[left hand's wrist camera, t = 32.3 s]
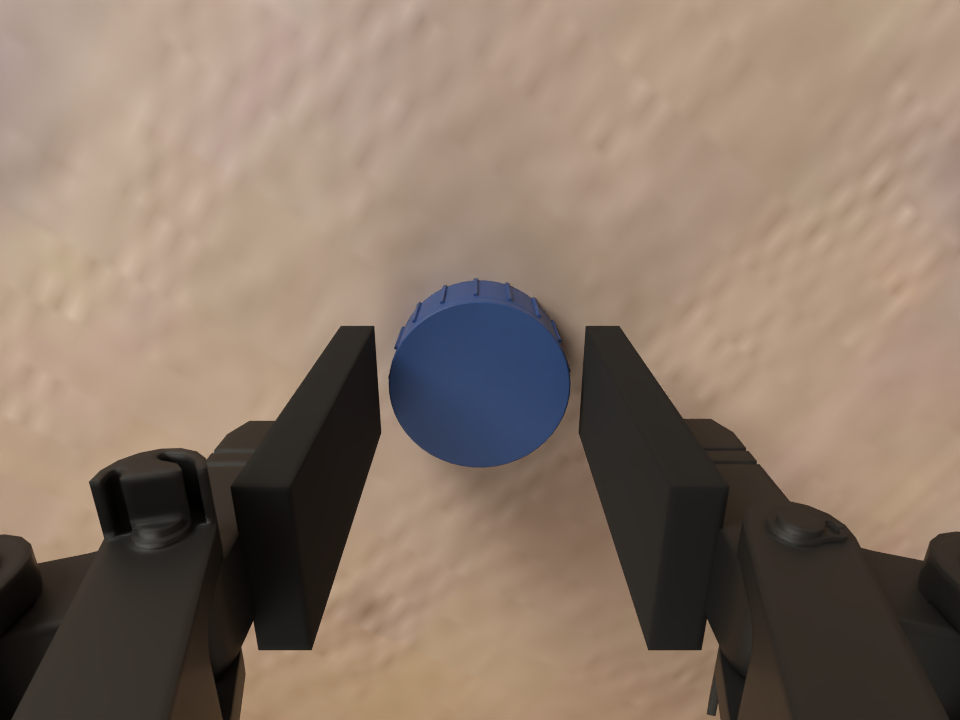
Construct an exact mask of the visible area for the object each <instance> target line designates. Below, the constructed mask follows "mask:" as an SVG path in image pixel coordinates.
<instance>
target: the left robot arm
mask: <svg viewBox="0 0 960 720" xmlns="http://www.w3.org/2000/svg"><path fill="white" fill-rule="evenodd" d="M380 435H381V422H380V407H379V392H378V376H377V361H376V346H375V331H374V326H341V327H340V328H339V329H338V331H337V332H336V334H335V335H334V337H333V338H332V340H331V341H330V343H329V344H328V345H327V347H326V348H325V350H324V351H323V353H322V354H321V356H320V357H319V358H318V360H317V361H316V363H315V364H314V366H313V367H312V369H311V370H310V372H309V373H308V374H307V376H306V377H305V379H304V380H303V382H302V383H301V385H300V386H299V388H298V389H297V390H296V392H295V393H294V395H293V396H292V398H291V399H290V401H289V402H288V403H287V405H286V406H285V408H284V409H283V411H282V412H281V414H280V415H279V417H278V418H277V419H276V421H249V422H247V423H245V424H244V425H242V426H240V427H239V428H237V429H235V430H234V431H232V432H230V433H229V434H227V435H226V437H225V438H224V439H223V440H222V441H221V443H220V444H219V445H218V446H217V448H216V449H215V450H214V451H215V452H214V453H212V454H211V455H210V456H209V457H208V459H207V460H206V458H205V457H203V456H202V455H201V454H199V453H198V452H197V451H192V450H187V449H183V448H171V449H158V450H152V451H147V452H142V453H138V454H135V455H132V456H130V457H127V458H124V459H121V460H118V461H116V462H115V463H113V464H111V465H109V466H108V467H106V468H104V469H102V470H101V471H100V472H99V473H97V474H96V475H95V476H94V477H93V478H92V479H91V480H90V481H89V484H90V487H91V491H92V495H93V498H94V502H95V506H96V509H97V513H98V517H99V520H100V524H101V528H102V531H103V535H104V540H103V542H102V544H101V546H100V548H99V550H98V551H96V552H92V553H88V554H84V555H79V556H73V557H68V558H63V559H58V560H53V561H48V562H43V563H38V564H37V562H36V558H35V555H34V552H33V549H32V546H31V544H30V543H29V542H27V541H26V540H25V539H24V538H22V537H19V536H12V535H5V534H4V535H0V720H240V712H241V705H242V697H243V689H244V682H245V666H244V659H243V654H242V649H241V646H242V644H243V642H244V640H245V638H246V636H247V633H248V631H249V629H250V627H251V625H252V622H253V621H254V627H255V632H256V638H257V644H258V650H312V647H313V644H314V641H315V638H316V635H317V632H318V629H319V625H320V622H321V619H322V616H323V613H324V610H325V607H326V604H327V600H328V597H329V594H330V591H331V588H332V585H333V582H334V579H335V575H336V572H337V569H338V566H339V563H340V560H341V557H342V554H343V550H344V547H345V544H346V541H347V538H348V535H349V532H350V529H351V525H352V522H353V519H354V516H355V513H356V510H357V507H358V504H359V500H360V497H361V494H362V491H363V488H364V485H365V482H366V479H367V475H368V472H369V469H370V466H371V463H372V460H373V457H374V454H375V450H376V447H377V444H378V441H379V438H380ZM579 435H580V438H581V441H582V444H583V447H584V451H585V454H586V457H587V460H588V463H589V466H590V469H591V472H592V476H593V479H594V482H595V485H596V488H597V491H598V494H599V497H600V500H601V504H602V507H603V510H604V513H605V516H606V519H607V522H608V525H609V529H610V532H611V535H612V538H613V541H614V544H615V547H616V550H617V554H618V557H619V560H620V563H621V566H622V569H623V572H624V575H625V579H626V582H627V585H628V588H629V591H630V594H631V597H632V600H633V604H634V607H635V610H636V613H637V616H638V619H639V622H640V625H641V629H642V632H643V635H644V638H645V641H646V644H647V647H648V650H702V644H703V638H704V632H705V627H706V621H707V619H708V621H709V624H710V626H711V628H712V630H713V632H714V635H715V637H716V639H717V641H718V643H719V649H718V654H717V659H716V665H715V670H714V676H713V681H712V686H711V692H710V697H709V703H708V710H707V714H708V715H713V716H716V711H717V705H718V703H719V711H720V718H721V720H960V532H950V533H943V534H939V535H937V536H936V537H935V538H934V539H932V540H931V541H930V543H929V546H928V549H927V552H926V555H925V558H924V561H921V560H916V559H911V558H906V557H901V556H896V555H891V554H886V553H881V552H875V551H871V550H867V549H863V548H861V547H860V545H859V543H858V541H857V539H856V538H855V536H854V535H853V534H852V533H851V532H850V530H849V529H848V528H847V527H846V526H845V525H844V524H843V523H841V522H840V521H838V520H837V519H835V518H834V517H832V516H831V515H829V514H827V513H825V512H823V511H820V510H818V509H815V508H813V507H811V506H808V505H804V504H799V503H795V502H790V501H789V500H788V499H787V497H786V496H785V495H784V494H783V492H782V491H781V490H780V489H779V488H778V486H777V485H776V484H775V483H774V482H773V480H772V479H771V478H770V477H769V475H768V474H767V473H766V472H765V471H764V469H763V468H762V467H761V466H760V464H757V461H756V460H755V458H754V457H753V456H752V455H751V453H750V452H749V451H746V447H745V446H744V445H743V444H742V443H741V441H740V440H739V439H738V438H737V436H736V435H735V434H734V433H733V432H732V431H730V430H728V429H727V428H725V427H723V426H722V425H720V424H718V423H717V422H715V421H713V420H712V419H683V418H682V417H681V415H680V414H679V412H678V411H677V409H676V408H675V406H674V405H673V404H672V402H671V401H670V399H669V398H668V396H667V395H666V393H665V392H664V390H663V389H662V388H661V386H660V385H659V383H658V382H657V380H656V379H655V377H654V376H653V374H652V373H651V372H650V370H649V369H648V367H647V366H646V364H645V363H644V361H643V360H642V359H641V357H640V356H639V354H638V353H637V351H636V350H635V348H634V347H633V345H632V344H631V343H630V341H629V340H628V338H627V337H626V335H625V334H624V332H623V331H622V329H621V328H620V327H619V326H586V331H585V346H584V361H583V376H582V391H581V406H580V421H579Z"/></svg>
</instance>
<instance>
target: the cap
mask: <svg viewBox="0 0 960 720" xmlns="http://www.w3.org/2000/svg"><path fill="white" fill-rule="evenodd" d="M560 342H562V340H561V338H560V335H559V332H558V330H557V327H556V325H555V322H554V320H553V321H551V320H550V318H549V317H548V315H547V314H546V313H545V311H544V310H543V309H542V308H541V307H540V306H539V305H538V303H537V300H536V298H534V297H533V298H530V297H529V296H528V295H526V294H525V293H523V292H521V291H519V290H518V289H515V288H513V287H511V286H509V283H505V284H501V283H498V282H491V281H478V279H477V278H474V281H468V282H462V283H458V284H454V285H451V286H448V287H447V286H446V285H445V286H443V289H441V290H440V291H438V292H436V293H434V294H433V295H431V296H430V297H429V298H427V299H426V300H425V301H424V302H423V303H421V302H419V303H418V304H417V307H416V310H415V311H414V313H413V314H412V315H411V317H410V318H409V320H408V322H407V324H406V326H405V327H402V329H401V331H400V334H399V337H398V339H397V342H396V345H395V347H394V349H396V352H395V355H394V358H393V361H392V365H391V369H390V374H389V394H390V399H391V404H392V407H393V410H394V413H395V415H396V417H397V419H398V421H399V423H400V425H401V426H402V428H403V429H404V431H405V432H406V433H407V435H408V436H409V437H410V438H411V439H412V440H413V441H414V442H415V443H416V444H417V445H418V446H420V447H421V448H422V449H423V450H425V451H426V452H428V453H429V454H431V455H433V456H435V457H437V458H439V459H441V460H444V461H446V462H449V463H452V464H456V465H460V466H467V467H492V466H498V465H503V464H507V463H510V462H513V461H516V460H518V459H520V458H522V457H524V456H526V455H528V454H530V453H531V452H533V451H534V450H536V449H537V448H538V447H539V446H541V445H542V444H543V443H544V442H545V441H546V440H547V439H548V438H549V437H550V436H551V435H552V434H553V432H554V431H555V429H556V428H557V427H558V425H559V423H560V421H561V419H562V418H563V416H564V413H565V410H566V408H567V405H568V400H569V395H570V373H569V372H570V367H569V365H568V362H567V359H566V356H565V354H564V351H563V348H562V347H561V344H560Z"/></svg>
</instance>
